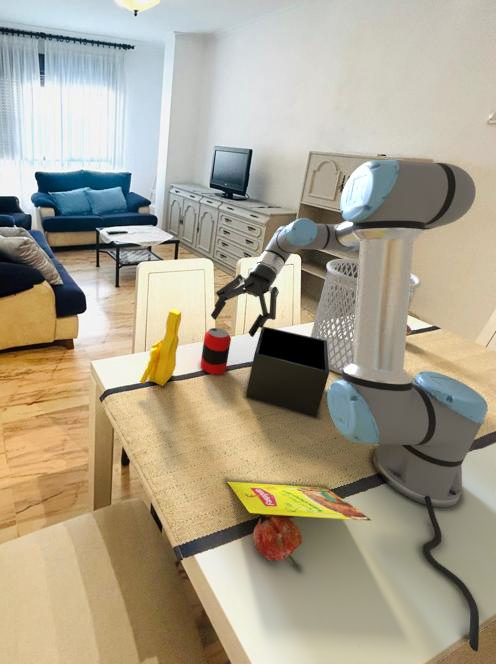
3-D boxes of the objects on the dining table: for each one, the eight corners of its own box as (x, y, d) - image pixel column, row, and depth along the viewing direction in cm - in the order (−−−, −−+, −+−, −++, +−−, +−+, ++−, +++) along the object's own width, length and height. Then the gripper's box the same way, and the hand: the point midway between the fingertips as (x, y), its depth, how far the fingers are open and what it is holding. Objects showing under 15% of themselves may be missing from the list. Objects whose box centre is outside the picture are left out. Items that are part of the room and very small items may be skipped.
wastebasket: (408, 375, 118) (443, 284, 106) (341, 383, 112) (371, 288, 100) (349, 336, 140) (373, 257, 128) (290, 341, 134) (310, 259, 122)
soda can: (213, 358, 121) (219, 324, 116) (231, 370, 115) (237, 335, 110) (195, 364, 117) (199, 329, 112) (211, 377, 111) (217, 341, 106)
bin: (316, 417, 97) (329, 373, 92) (245, 397, 103) (254, 354, 98) (315, 380, 112) (327, 340, 107) (254, 364, 119) (262, 326, 113)
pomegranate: (294, 551, 67) (259, 497, 70) (325, 552, 62) (286, 493, 65) (270, 583, 63) (234, 524, 66) (302, 587, 58) (260, 522, 60)
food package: (372, 517, 63) (249, 509, 63) (372, 524, 62) (249, 516, 62) (325, 485, 78) (226, 478, 78) (325, 491, 77) (226, 484, 78)
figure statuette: (162, 360, 118) (168, 294, 109) (186, 369, 114) (194, 301, 106) (133, 390, 103) (137, 317, 95) (159, 401, 100) (166, 326, 92)
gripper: (306, 288, 114) (271, 347, 111) (236, 265, 131) (203, 316, 127) (302, 275, 109) (264, 337, 105) (229, 253, 126) (194, 305, 122)
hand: (231, 325), depth 116 cm, fingers open, 13 cm apart
